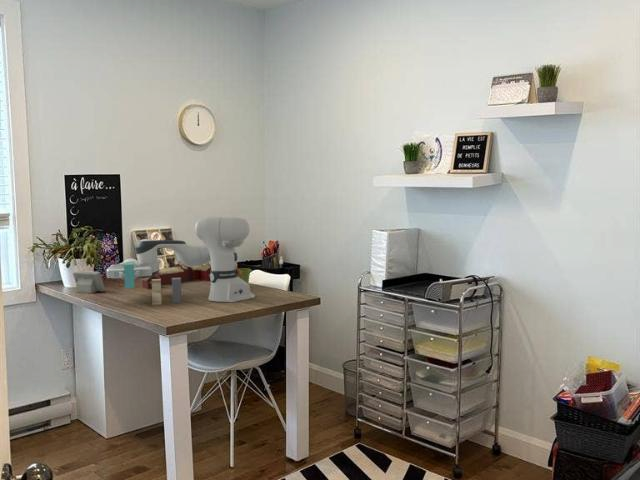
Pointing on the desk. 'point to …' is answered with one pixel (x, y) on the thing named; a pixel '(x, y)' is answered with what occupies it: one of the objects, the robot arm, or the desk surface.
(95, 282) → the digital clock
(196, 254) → the robot arm
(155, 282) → the birch post
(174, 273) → the toy houses
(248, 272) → the plant pot
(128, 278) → the teal post
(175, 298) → the charcoal post
